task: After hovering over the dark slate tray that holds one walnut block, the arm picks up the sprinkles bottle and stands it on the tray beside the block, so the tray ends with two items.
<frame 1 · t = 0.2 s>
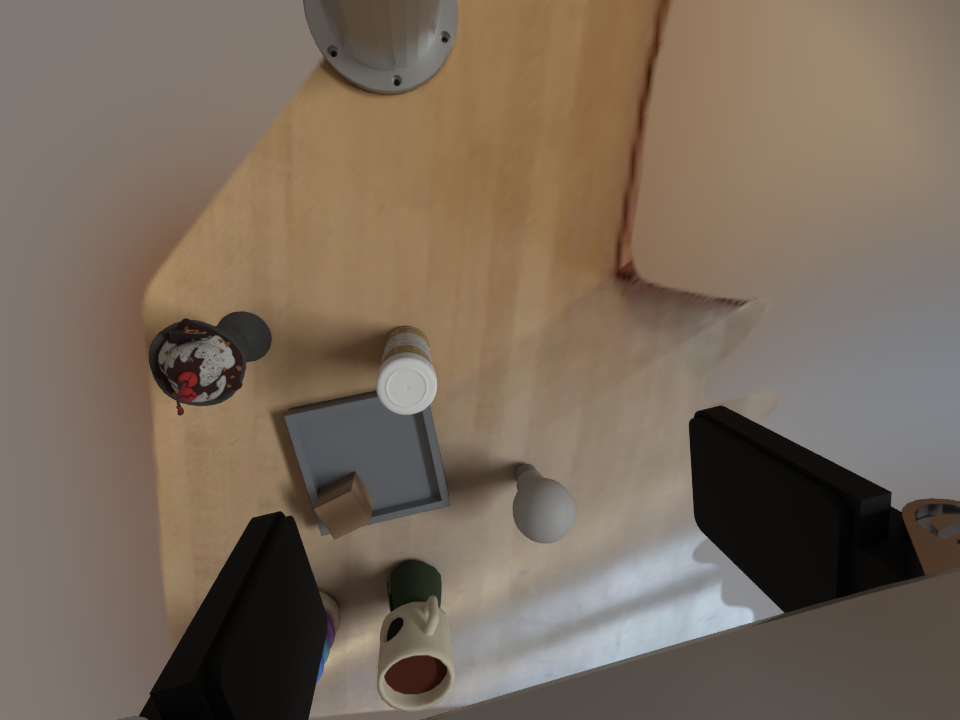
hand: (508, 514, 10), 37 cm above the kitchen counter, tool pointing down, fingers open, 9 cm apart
lightbulb: (523, 469, 52), on the kitchen counter
slate tray: (373, 454, 48), on the kitchen counter
stacking toy: (306, 612, 52), on the kitchen counter
sundae: (245, 336, 43), on the kitchen counter
character mug: (414, 578, 53), on the kitchen counter
sprinkles bottle: (407, 346, 46), on the kitchen counter
walnut block: (347, 493, 48), point 1 cm above the kitchen counter, touching slate tray
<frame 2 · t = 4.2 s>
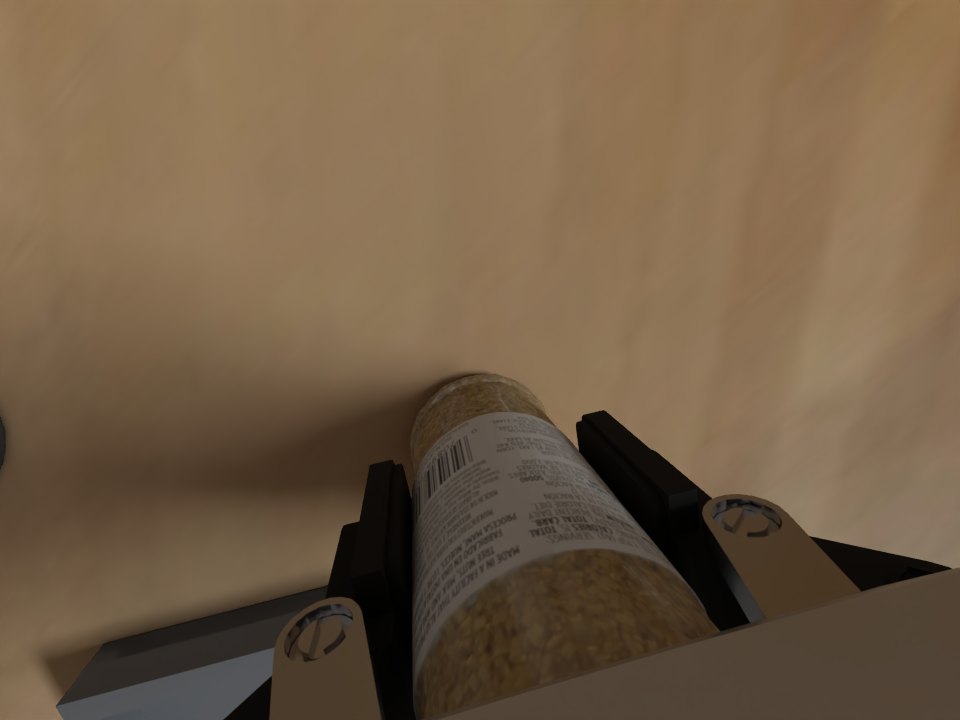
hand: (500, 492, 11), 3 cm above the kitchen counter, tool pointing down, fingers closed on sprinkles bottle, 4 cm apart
sprinkles bottle: (479, 434, 15), on the kitchen counter, touching gripper
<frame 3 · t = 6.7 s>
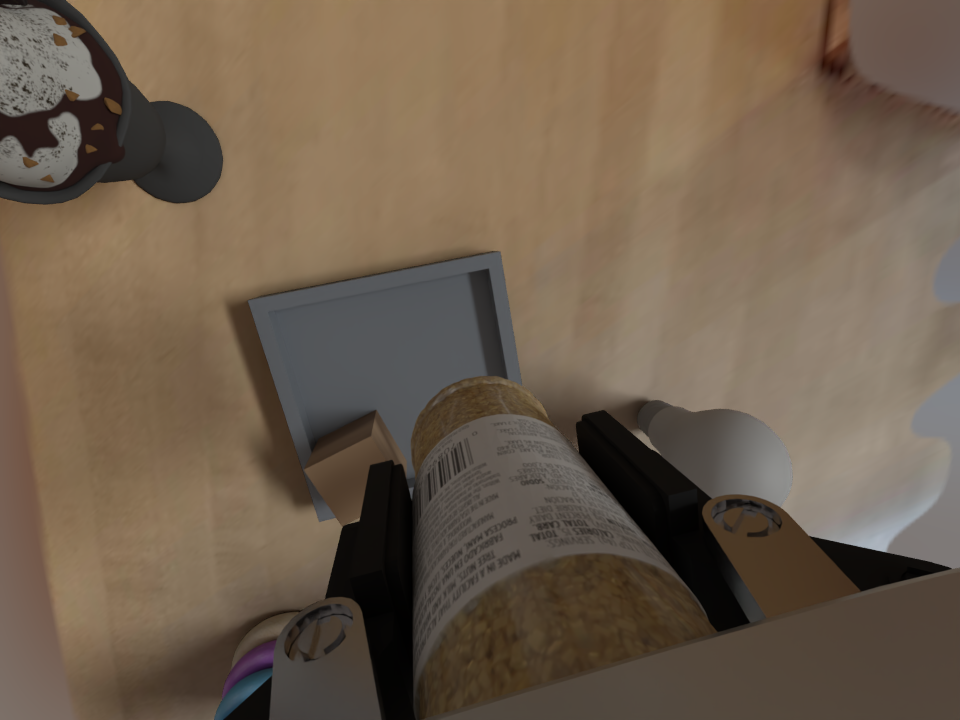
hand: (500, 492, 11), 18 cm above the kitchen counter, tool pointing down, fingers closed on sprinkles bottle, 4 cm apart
lightbulb: (646, 412, 32), on the kitchen counter
slate tray: (406, 382, 29), on the kitchen counter
stacking toy: (297, 649, 32), on the kitchen counter
sundae: (175, 155, 24), on the kitchen counter
sprinkles bottle: (480, 435, 15), point 14 cm above the kitchen counter, touching gripper
walnut block: (363, 450, 28), point 1 cm above the kitchen counter, touching slate tray
when the fingers open (6 cm above the kitchen counter, at t = 9.1 s): sprinkles bottle drops 1 cm, resting on slate tray.
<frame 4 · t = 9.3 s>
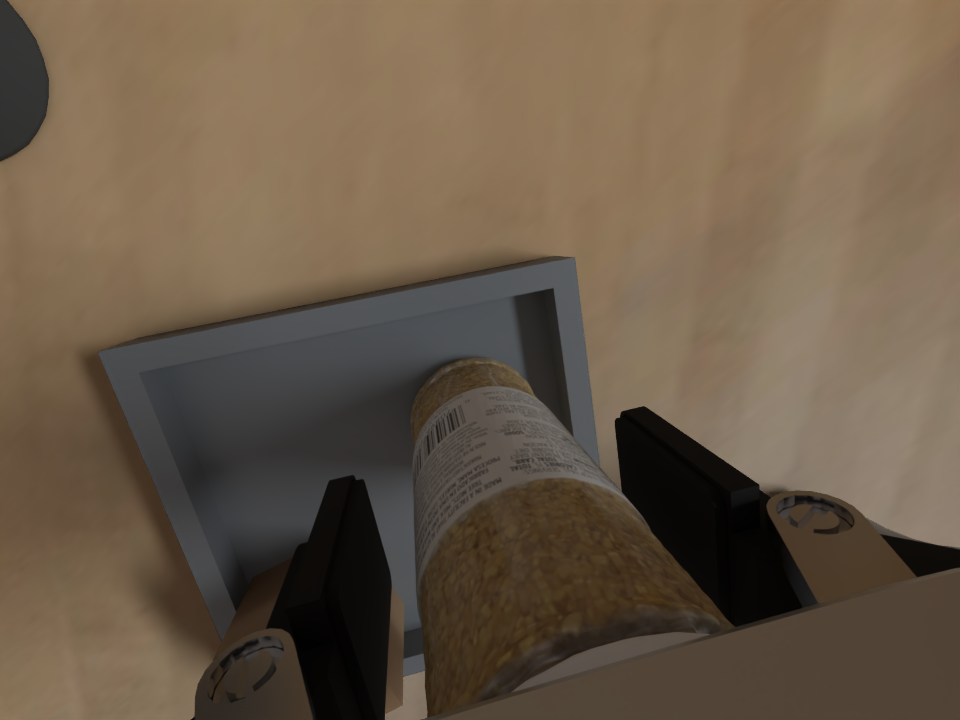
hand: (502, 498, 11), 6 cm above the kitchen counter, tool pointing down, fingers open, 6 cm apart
slate tray: (402, 476, 17), on the kitchen counter
sprinkles bottle: (473, 412, 16), point 1 cm above the kitchen counter, touching slate tray
walnut block: (331, 591, 17), point 1 cm above the kitchen counter, touching slate tray
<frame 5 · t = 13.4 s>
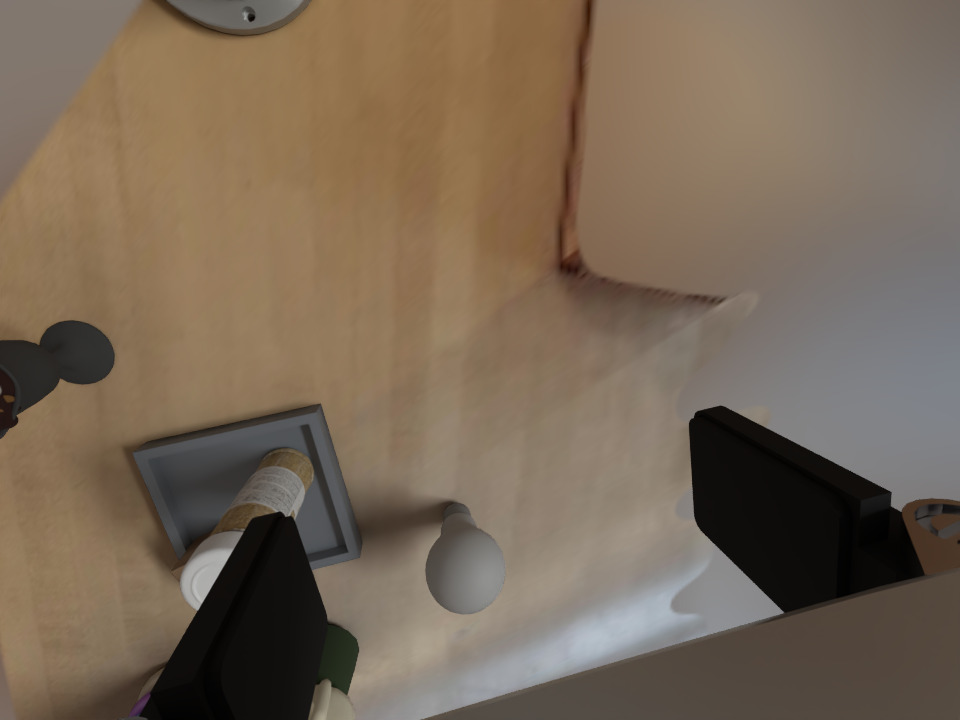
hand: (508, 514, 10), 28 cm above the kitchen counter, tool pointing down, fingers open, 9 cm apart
lightbulb: (455, 509, 42), on the kitchen counter
slate tray: (261, 495, 39), on the kitchen counter
stacking toy: (192, 688, 43), on the kitchen counter
sundae: (81, 352, 34), on the kitchen counter
character mug: (326, 643, 44), on the kitchen counter
sprinkles bottle: (288, 469, 38), point 1 cm above the kitchen counter, touching slate tray
walnut block: (229, 545, 39), point 1 cm above the kitchen counter, touching slate tray
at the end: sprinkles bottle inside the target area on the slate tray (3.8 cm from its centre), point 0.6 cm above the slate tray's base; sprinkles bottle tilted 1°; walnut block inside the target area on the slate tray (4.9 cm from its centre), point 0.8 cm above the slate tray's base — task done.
